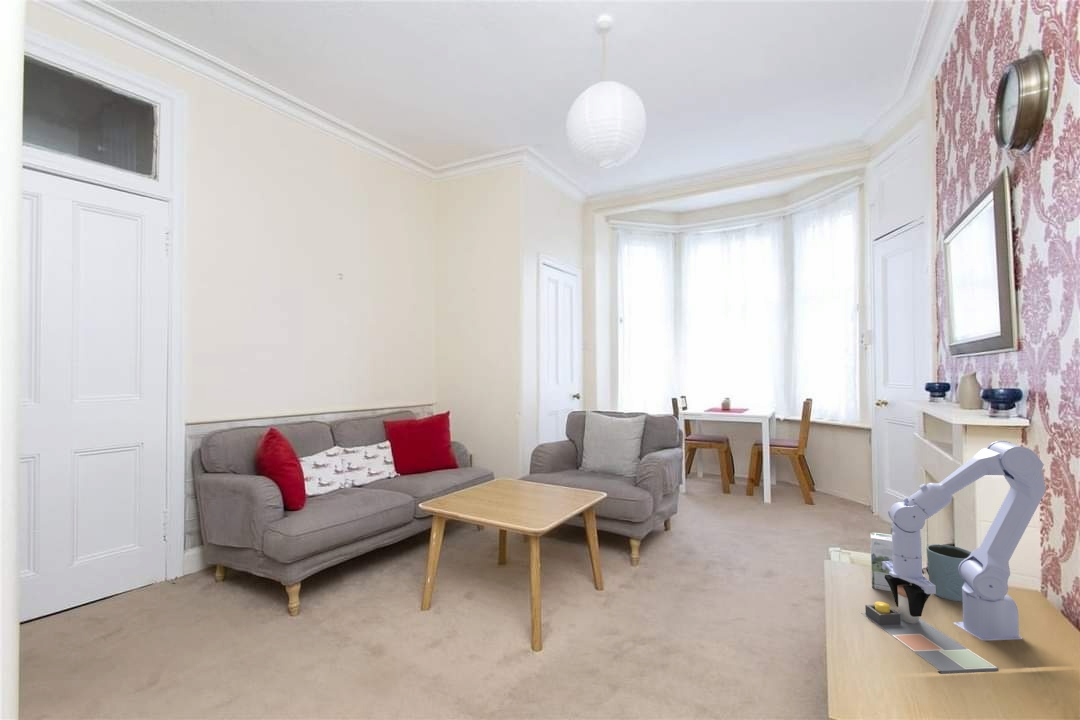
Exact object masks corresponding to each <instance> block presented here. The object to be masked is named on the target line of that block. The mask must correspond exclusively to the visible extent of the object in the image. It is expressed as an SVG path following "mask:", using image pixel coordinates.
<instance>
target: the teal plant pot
mask: <svg viewBox="0 0 1080 720" xmlns="http://www.w3.org/2000/svg"><path fill="white" fill-rule="evenodd" d="M925 548H926V549H925V550H926V557H927V568H928V569H927V572H928V580H929V581H930V582H931V583H932V584H934V585H936V594H934V595H935V596H936V597H939V598H942V599H945V600H949V601H954V602H962V603H963V597H962V587H963V585H964V583H965V580H964V579H963V578H962V577H961V576H960V574H959V571H958V567H959V564H960V563H961V561H963V560H964V559H966V558H967V557H969V555H970V554H971V552H972V551H970V550H968V549H964V548H962V547H957V546H953V545H949V544H933V543H932V544H929V545H927V546H926V547H925Z"/></svg>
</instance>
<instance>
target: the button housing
mask: <svg viewBox="0 0 1080 720" xmlns="http://www.w3.org/2000/svg"><path fill="white" fill-rule="evenodd" d="M864 610H865V613H866V615H867V616H868V617H869V618H871V619H872V620H873V621H875V622H876V623H878V624H879V625H898V624H901V619H900V614H899V613H898V611H896V610H895V609H894V608H892V607H890V613H879V612H878V611H876V610H875V604H865V609H864Z"/></svg>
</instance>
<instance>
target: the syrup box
mask: <svg viewBox="0 0 1080 720" xmlns="http://www.w3.org/2000/svg"><path fill="white" fill-rule="evenodd" d="M869 534H870V573H871V575H870V577H871V588H872V589H876V590H882V591H889V592H892V591H891V588H890V586H889V584H888V582H887V581H886V579H885V575H889V572H890V571H888V570H884V569H882V561H891V562H893V552H892V535H891V534H890V533H889V534H888V533H879V532H873V531H872V532H870V533H869Z"/></svg>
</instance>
